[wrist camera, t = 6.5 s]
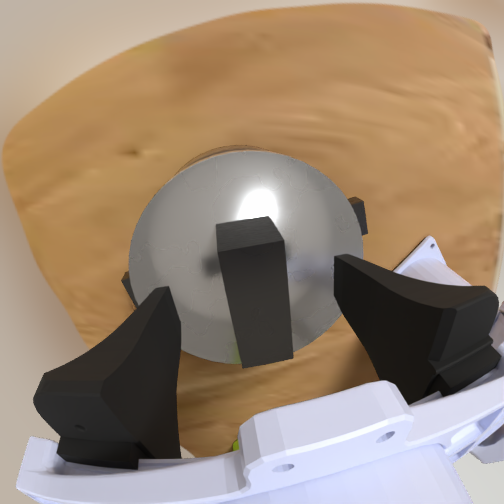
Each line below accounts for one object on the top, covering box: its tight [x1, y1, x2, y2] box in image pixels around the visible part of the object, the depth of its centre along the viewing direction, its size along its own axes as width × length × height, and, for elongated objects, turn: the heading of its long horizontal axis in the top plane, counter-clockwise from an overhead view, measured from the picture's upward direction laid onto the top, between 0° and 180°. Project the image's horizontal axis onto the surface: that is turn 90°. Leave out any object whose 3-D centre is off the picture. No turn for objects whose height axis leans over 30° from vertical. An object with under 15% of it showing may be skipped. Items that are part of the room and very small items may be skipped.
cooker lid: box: [129, 150, 363, 368], centre depth 13 cm, size 12×12×4 cm
